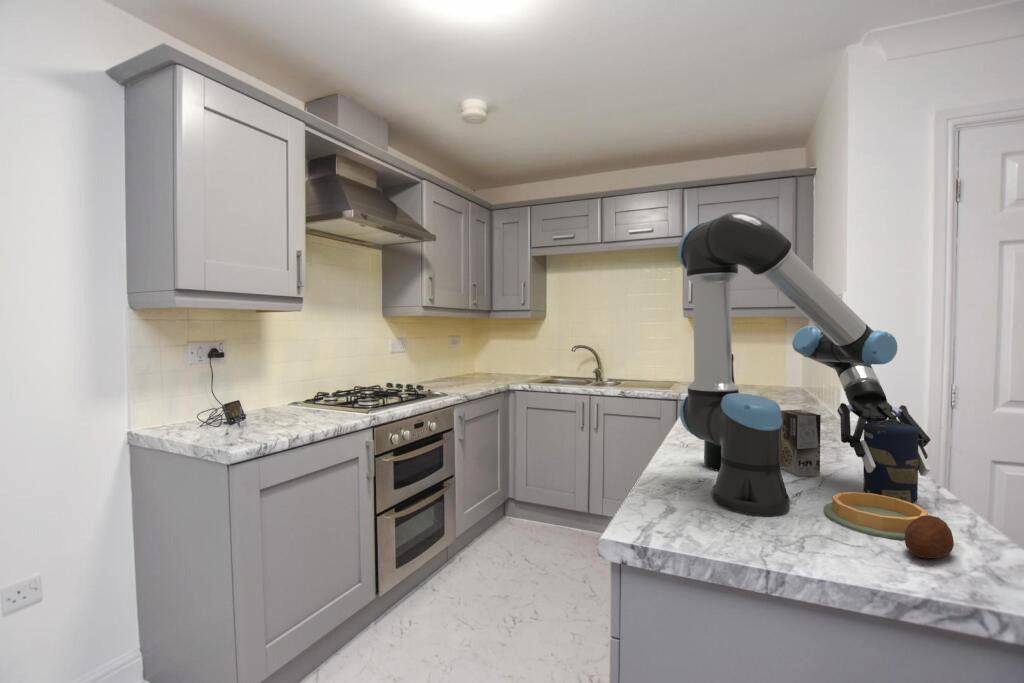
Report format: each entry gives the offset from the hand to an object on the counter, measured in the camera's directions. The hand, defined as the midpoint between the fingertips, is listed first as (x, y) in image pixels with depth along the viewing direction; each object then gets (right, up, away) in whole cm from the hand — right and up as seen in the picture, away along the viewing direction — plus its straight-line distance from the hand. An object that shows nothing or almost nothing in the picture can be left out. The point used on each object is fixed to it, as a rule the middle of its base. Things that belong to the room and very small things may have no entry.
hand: (898, 471), depth 102 cm
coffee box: (-6, -8, +26) cm, 28 cm away
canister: (+1, -8, +3) cm, 8 cm away
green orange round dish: (-10, -8, -8) cm, 15 cm away
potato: (-13, -8, -22) cm, 26 cm away
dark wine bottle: (-24, -7, +30) cm, 39 cm away
